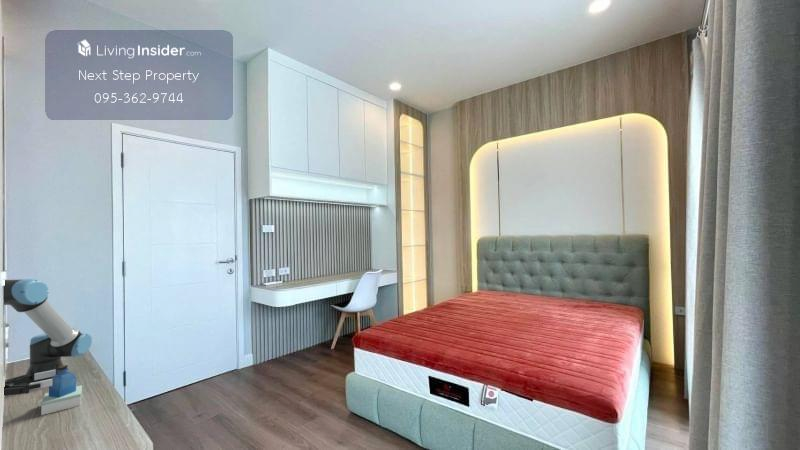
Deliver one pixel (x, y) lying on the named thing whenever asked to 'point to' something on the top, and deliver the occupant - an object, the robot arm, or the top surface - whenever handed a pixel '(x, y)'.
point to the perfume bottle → (62, 383)
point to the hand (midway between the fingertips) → (54, 377)
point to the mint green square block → (61, 401)
